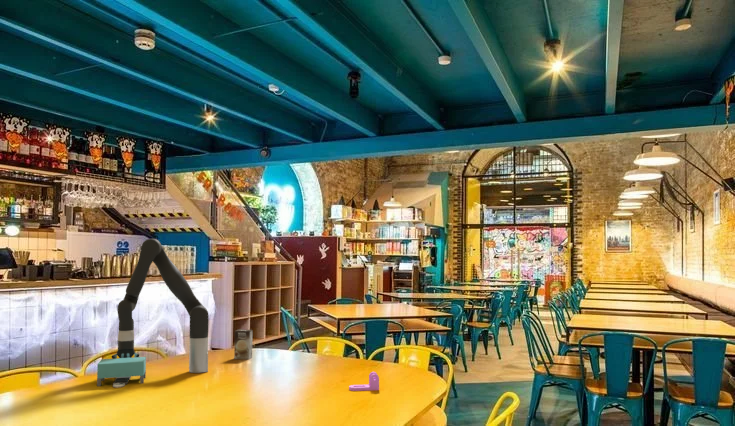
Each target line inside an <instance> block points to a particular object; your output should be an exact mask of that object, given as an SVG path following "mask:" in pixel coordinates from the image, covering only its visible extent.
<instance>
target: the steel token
mask: <svg viewBox="0 0 735 426" xmlns="http://www.w3.org/2000/svg"><path fill="white" fill-rule="evenodd" d="M125 386H126V385H125V383H115V384H113V383H112V388H114V389H115V388H116V389H117V388H118V389H119V388H123V387H125Z"/></svg>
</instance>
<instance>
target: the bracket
mask: <svg viewBox="0 0 735 426" xmlns="http://www.w3.org/2000/svg"><path fill="white" fill-rule="evenodd" d="M348 387H349V388H348V390H349V391H351V392H353V391H354V392H356V391H357V392H361V391H379V390H380V377H379V375H378V374H377V372H376V371H372V372H370V373H369V375H368V384H351V385H349V386H348Z"/></svg>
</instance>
